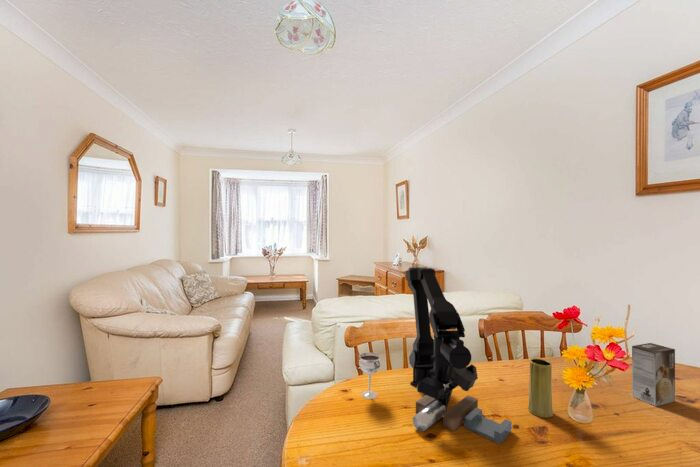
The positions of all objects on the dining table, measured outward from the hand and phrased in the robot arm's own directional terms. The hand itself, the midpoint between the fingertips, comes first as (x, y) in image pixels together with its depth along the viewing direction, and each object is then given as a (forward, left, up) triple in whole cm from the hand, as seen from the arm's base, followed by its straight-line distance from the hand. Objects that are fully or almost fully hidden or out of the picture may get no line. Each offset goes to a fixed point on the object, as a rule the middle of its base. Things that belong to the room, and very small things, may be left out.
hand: (444, 409), depth 89 cm
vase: (+18, +21, -2) cm, 28 cm away
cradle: (+11, +2, -1) cm, 12 cm away
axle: (-1, -7, +1) cm, 7 cm away
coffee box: (+40, +54, -2) cm, 67 cm away
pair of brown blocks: (0, +2, -1) cm, 2 cm away
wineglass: (-22, -7, -2) cm, 23 cm away
